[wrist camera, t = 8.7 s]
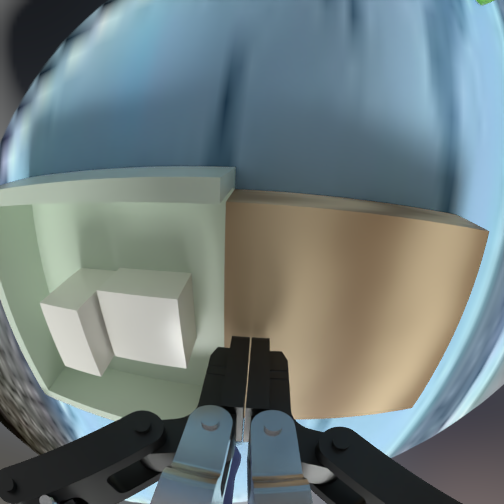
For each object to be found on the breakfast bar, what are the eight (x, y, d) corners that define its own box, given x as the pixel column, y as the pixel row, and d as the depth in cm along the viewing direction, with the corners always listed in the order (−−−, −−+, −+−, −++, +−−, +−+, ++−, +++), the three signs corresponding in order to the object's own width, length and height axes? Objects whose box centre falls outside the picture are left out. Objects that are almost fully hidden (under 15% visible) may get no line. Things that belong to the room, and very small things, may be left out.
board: (455, 214, 12) (489, 231, 9) (398, 377, 16) (411, 407, 14) (234, 189, 12) (225, 201, 9) (230, 380, 17) (225, 416, 14)
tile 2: (76, 310, 10) (39, 302, 10) (101, 376, 11) (65, 366, 11) (116, 270, 13) (81, 267, 14) (129, 331, 15) (96, 325, 15)
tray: (235, 167, 12) (220, 177, 8) (230, 389, 17) (223, 442, 13) (28, 177, 12) (-23, 193, 8) (71, 357, 17) (45, 394, 13)
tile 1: (191, 272, 13) (177, 299, 11) (196, 337, 15) (186, 368, 12) (119, 267, 13) (96, 290, 11) (132, 329, 15) (115, 356, 12)
